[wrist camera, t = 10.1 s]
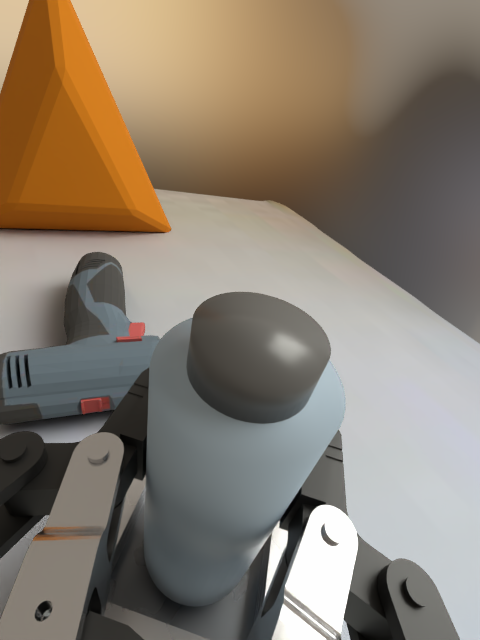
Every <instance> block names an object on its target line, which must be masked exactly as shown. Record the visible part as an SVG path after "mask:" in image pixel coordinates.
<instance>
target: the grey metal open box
mask: <svg viewBox="0 0 480 640" xmlns="http://www.w3.org/2000/svg"><path fill="white" fill-rule="evenodd" d="M145 483H146V475H145V477H144V479H143V481H141V480H138V479H135V478H134V480H133V481H132V483H131V485H130V487H129V489H128V491H127V493H126V498H125V503H124V508H123V513H122V518H121V523H120V528H119V533H118V538H117V543H116V548H115V553H114V558H113V563H112V570H111V581H110V588H109V594H108V599H107V604H106V609H105V614H104V616H105V617H107V618H110V619H113V620H115V621H118V622H121V623H123V624H126V625H129V626H130V627H131V628H132V629H133V630H134V631H135V632H136V633H137V634H138V635H140V636H141V637H142V638H143V639H144V640H246V639H247V637H248V635H249V633H250V630H251V628H252V627H253V625H254V623H255V621H256V619H257V617H258V614H259V612H260V609H261V607H262V604H263V602H264V599H265V596H266V594H267V591H268V589H269V586H270V584H271V581H272V578H273V576H274V573H275V571H276V568H277V566H278V563H279V560H280V558H281V555H282V553H283V550H284V548H285V547H286V546H287V537H288V531H286V530H283V529H280V528H279V523H280V520H279V522H278V523H277V525H276V526H275V528H274V529H273V531H272V533H271V534H270V536H269V537H268V539H267V540H266V542H265V543H264V545H263V546H262V548H261V549H260V551H259V553H258V554H257V556H256V557H255V559H254V560H253V562H252V563H251V565H250V566H249V568H248V569H247V571H246V572H245V574H244V576H243V577H242V579H241V580H240V582H239V583H238V584H237V586H236V587H235V588H234V589H233V590H232V591H231V592H230V593H229V594H228V595H227V596H225V597H224V598H222V599H221V600H219V601H217V602H215V603H212V604H209V605H205V606H197V607H193V606H186V605H182V604H179V603H177V602H175V601H172V600H171V599H169V598H168V597H167V596H165V595H164V594H163V593H162V592H161V591H160V590H159V589H158V588H157V586H156V585H155V584H154V582H153V580H152V578H151V577H150V575H149V572H148V569H147V567H146V562H145V558H144V549H143V548H144V514H145Z"/></svg>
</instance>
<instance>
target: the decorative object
mask: <svg viewBox="0 0 480 640" xmlns="http://www.w3.org/2000/svg"><path fill="white" fill-rule="evenodd" d="M0 228H19V229H59V230H99V231H139V232H169V231H171V227H170V225H169V223H168V220H167V218H166V216H165V214H164V211H163V209H162V207H161V205H160V202H159V200H158V198H157V196H156V193H155V191H154V189H153V187H152V184H151V182H150V180H149V177H148V175H147V173H146V171H145V168H144V167H143V164H142V162H141V160H140V157H139V155H138V153H137V150H136V148H135V146H134V144H133V141H132V139H131V137H130V135H129V132H128V130H127V128H126V125H125V123H124V121H123V119H122V116H121V114H120V112H119V110H118V107H117V105H116V103H115V100H114V98H113V96H112V94H111V91H110V89H109V87H108V85H107V82H106V80H105V78H104V76H103V73H102V71H101V69H100V67H99V64H98V62H97V60H96V57H95V55H94V53H93V51H92V48H91V46H90V44H89V42H88V39H87V37H86V35H85V33H84V30H83V28H82V26H81V24H80V21H79V19H78V17H77V15H76V12H75V10H74V8H73V5H72V3H71V1H70V0H29V3H28V6H27V9H26V13H25V16H24V19H23V22H22V26H21V29H20V32H19V35H18V39H17V42H16V45H15V48H14V51H13V55H12V58H11V61H10V64H9V67H8V70H7V74H6V77H5V81H4V84H3V87H2V90H1V93H0Z"/></svg>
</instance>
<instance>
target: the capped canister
mask: <svg viewBox="0 0 480 640" xmlns="http://www.w3.org/2000/svg"><path fill="white" fill-rule="evenodd" d="M330 354H331V348H330V343H329V340H328V337H327V335H326V333H325V332H324V330H323V329H322V327H321V326H320V325H319V324H318V323H317V322H316V321H315V320H314V319H313V318H312V317H311V316H309V315H308V314H307V313H305V312H304V311H302V310H301V309H299V308H298V307H296V306H294V305H292V304H290V303H288V302H286V301H283V300H281V299H278V298H275V297H272V296H268V295H264V294H259V293H251V292H230V293H224V294H220V295H216V296H214V297H211V298H209V299H207V300H206V301H204V302H203V303H202V304H201V305H200V306H199V307H198V308H197V309H196V311H195V313H194V315H193V318H190V319H188V320H185V321H183V322H181V323H179V324H178V325H176V326H175V327H173V328H172V329H171V330H169V331H168V332H167V333H166V334H165V335H164V336H163V337H162V338H161V339H160V341H159V342H158V344H157V345H156V347H155V349H154V351H153V354H152V356H151V361H150V366H149V392H148V423H147V453H146V483H145V514H144V548H143V549H144V558H145V562H146V567H147V569H148V572H149V575H150V577H151V578H152V580H153V582H154V584H155V585H156V586H157V588H158V589H159V590H160V591H161V592H162V593H163V594H164V595H165V596H167V597H168V598H169V599H171V600H172V601H175V602H177V603H179V604H182V605H186V606H193V607H197V606H205V605H209V604H212V603H215V602H217V601H219V600H221V599H222V598H224V597H225V596H227V595H228V594H229V593H230V592H231V591H232V590H233V589H234V588H235V587H236V586H237V584H238V583H239V582H240V580H241V579H242V577H243V576H244V574H245V572H246V571H247V569H248V568H249V566H250V565H251V563H252V562H253V560H254V559H255V557H256V556H257V554H258V553H259V551H260V549H261V548H262V546H263V545H264V543H265V542H266V540H267V539H268V537H269V536H270V534H271V533H272V531H273V529H274V528H275V526H276V525H277V523H278V522H279V520H280V519H281V517H282V516H283V514H284V513H285V511H286V509H287V508H288V506H289V505H290V503H291V502H292V500H293V499H294V497H295V496H296V494H297V493H298V491H299V489H300V488H301V486H302V485H303V483H304V482H305V480H306V479H307V477H308V476H309V474H310V473H311V471H312V470H313V468H314V466H315V465H316V463H317V462H318V460H319V459H320V457H321V456H322V454H323V453H324V451H325V450H326V448H327V446H328V445H329V443H330V442H331V440H332V439H333V437H334V436H335V434H336V433H337V431H338V429H339V428H340V426H341V423H342V421H343V418H344V413H345V393H344V388H343V385H342V382H341V379H340V377H339V375H338V373H337V371H336V369H335V368H334V366H333V364H332V363H331V361H330V360H329V358H330Z"/></svg>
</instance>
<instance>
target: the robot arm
mask: <svg viewBox="0 0 480 640" xmlns="http://www.w3.org/2000/svg"><path fill="white" fill-rule="evenodd" d="M148 392H149V368H147V369H146V370H144V371H143V372H141V374H140V375H139V377H138V378H137V379H136V381H135V382H134V385H132V386H131V388H130V389H129V391H128V393H127V394H126V395H125V396H124V398H123V399H122V400H121V402H120V403H119V405H118V406H117V407H116V409H115V410H114V412H113V413H112V414H111V416H110V417H109V419H108V420H107V421H106V423H105V424H104V426H103V427H102V428H101V429H100V430H99V431H98V432H97V433H95V434H92V435H90V436H88V437H86V438H85V439H83V440H82V441H80V442H75V443H44V441H43V439H42V438H41V437H40V436H39V435H38V434H36V433H34V432H29V431H22V432H16V433H13V434H10V435H8V436H5V437H3V438H2V439H0V558H1V557H3V556H4V555H5V554H6V553H7V552H8V551H9V550H10V549H11V548H12V547H13V546H14V545H15V544H16V543H17V542H18V541H19V540H20V539H21V538H22V537H23V536H24V535H25V534H26V533H27V532H28V531H29V530H30V529H31V528H32V527H34V526H35V525H36V524H37V523H38V522H39V521H40V520H41V519H42V518H43V517H44V516H45V515H49V518H48V521H47V523H46V525H45V527H44V529H43V530H42V531H41V532H40V533H38V534H37V535H36V536H35V537H34V539H33V541H32V542H31V544H30V546H29V548H28V551H27V553H26V555H25V558H24V560H23V563H22V565H21V568H20V571H19V573H18V576H17V578H16V581H15V583H14V586H13V588H12V591H11V593H10V596H9V598H8V601H7V604H6V606H5V609H4V611H3V614H2V616H1V619H0V640H144V639H143V638H142V637H141V636H140V635H138V634H137V633H136V632H135V631H134V630H133V629H132V628H131V627H130V626H129V625H126V624H123V623H121V622H118V621H115V620H113V619H110V618H107V617H105V616H104V614H105V609H106V604H107V599H108V594H109V588H110V581H111V570H112V563H113V558H114V553H115V548H116V543H117V538H118V533H119V528H120V523H121V518H122V513H123V508H124V503H125V498H126V493H127V491H128V489H129V487H130V485H131V483H132V481H133V480H134V478H135V479H138V480H141V481H143V479H144V477H145V475H146V453H147V423H148ZM279 528H280V529H283V530H286V531H288V537H287V546H286V547H285V548H284V550H283V553H282V555H281V558H280V560H279V563H278V566H277V568H276V571H275V573H274V576H273V578H272V581H271V584H270V586H269V589H268V591H267V594H266V596H265V599H264V602H263V604H262V607H261V609H260V612H259V614H258V617H257V619H256V621H255V623H254V625H253V627H252V628H251V630H250V633H249V635H248V637H247V639H246V640H341V627H342V622H343V620H345V621H346V623H347V627H348V631H349V635H350V639H351V640H460V639H459V636H458V634H457V632H456V630H455V627H454V625H453V623H452V621H451V618H450V616H449V614H448V612H447V609H446V607H445V605H444V603H443V600H442V598H441V596H440V594H439V592H438V590H437V588H436V586H435V584H434V582H433V581H432V579H431V578H430V577H429V575H428V574H427V573H426V572H425V571H424V570H423V569H422V568H421V567H420V566H418V565H417V564H415V563H414V562H412V561H410V560H407V559H396V560H394V561H391V560H389V559H388V558H387V557H385V556H384V555H383V554H381V553H380V552H378V551H377V550H376V549H374V548H373V547H372V546H370V545H369V544H368V543H366V542H365V541H364V540H363V539H362V538H361V537H360V536H359V535H358V533H357V532H356V531H355V529H354V526H353V524H352V523H351V521H350V520H349V517H348V514H347V508H346V495H345V481H344V467H343V453H342V439H341V434H340V431H339V429H338V431H337V433H336V434H335V436H334V437H333V439H332V440H331V442H330V443H329V445H328V446H327V448H326V450H325V451H324V453H323V454H322V456H321V457H320V459H319V460H318V462H317V463H316V465H315V466H314V468H313V470H312V471H311V473H310V474H309V476H308V477H307V479H306V480H305V482H304V483H303V485H302V486H301V488H300V489H299V491H298V493H297V494H296V496H295V497H294V499H293V500H292V502H291V503H290V505H289V506H288V508H287V509H286V511H285V513H284V514H283V516H282V517H281V519H280V523H279ZM43 614H44V618H43V621H41V617H42V615H43Z"/></svg>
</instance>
